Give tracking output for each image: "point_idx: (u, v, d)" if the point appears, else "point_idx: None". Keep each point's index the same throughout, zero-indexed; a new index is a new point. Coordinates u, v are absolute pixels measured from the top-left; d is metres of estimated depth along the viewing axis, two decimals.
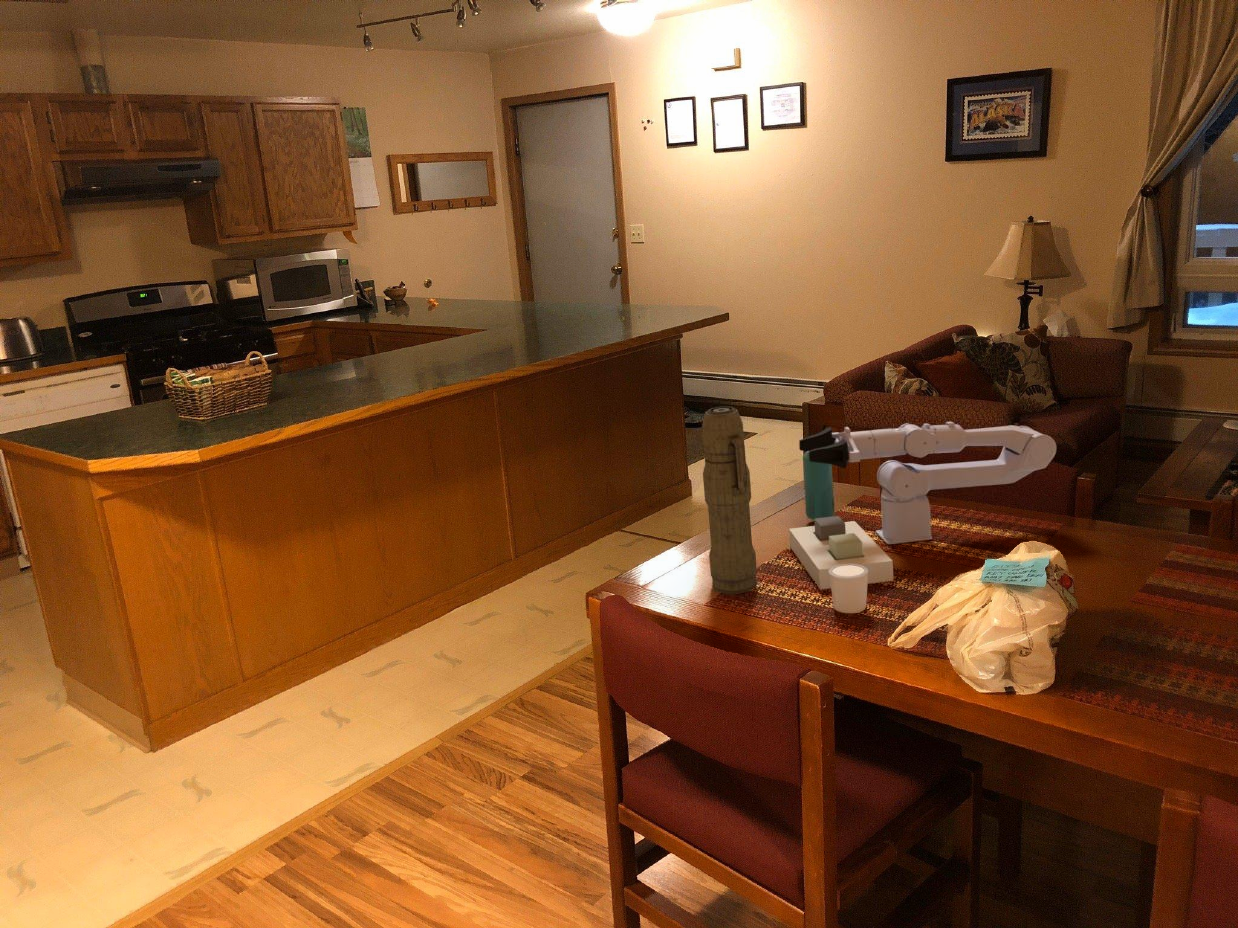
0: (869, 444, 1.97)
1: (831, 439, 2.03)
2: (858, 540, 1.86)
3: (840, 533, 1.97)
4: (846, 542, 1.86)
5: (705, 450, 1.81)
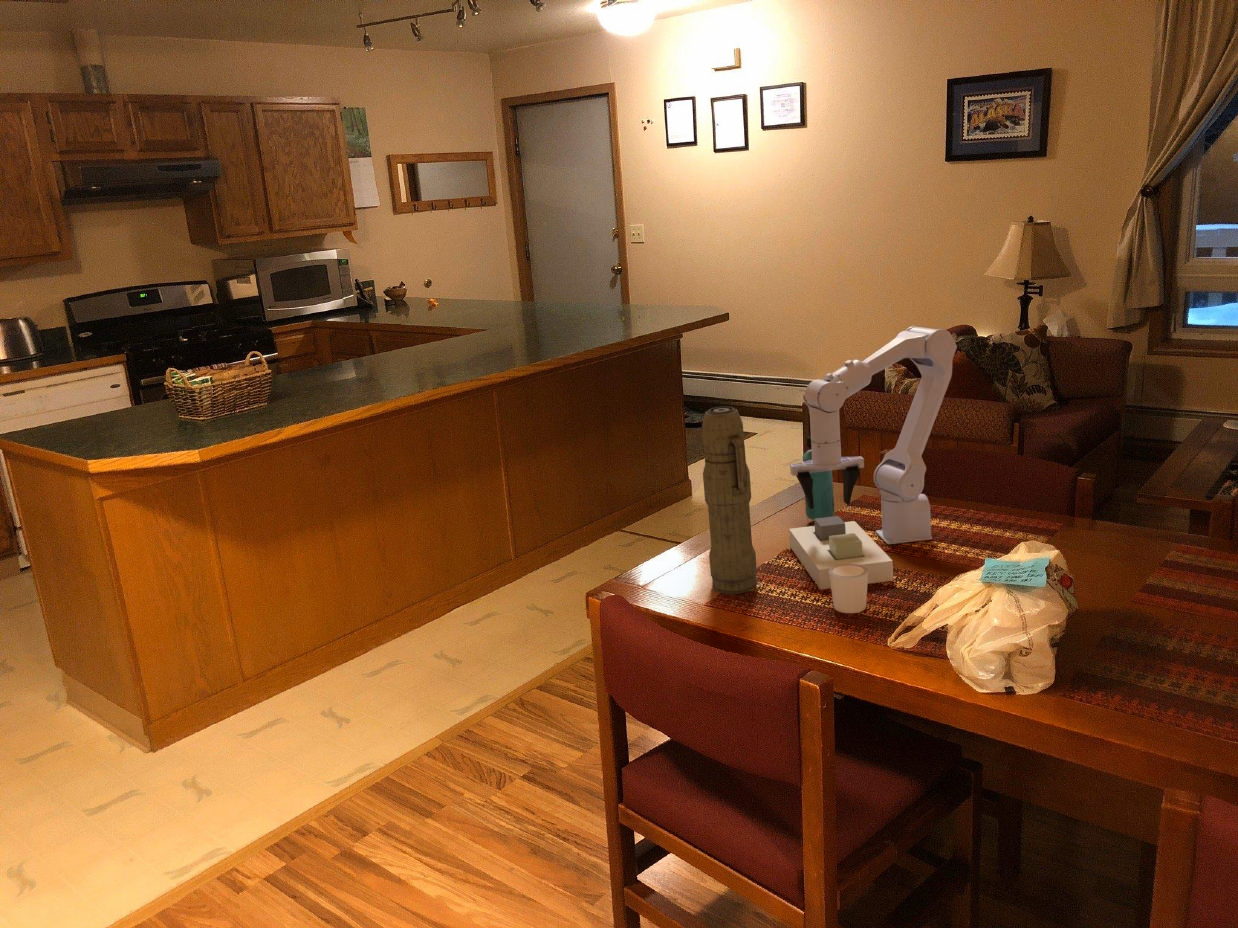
0: (840, 444, 1.94)
1: None
2: (858, 540, 1.86)
3: (840, 533, 1.97)
4: (846, 542, 1.86)
5: (705, 450, 1.81)
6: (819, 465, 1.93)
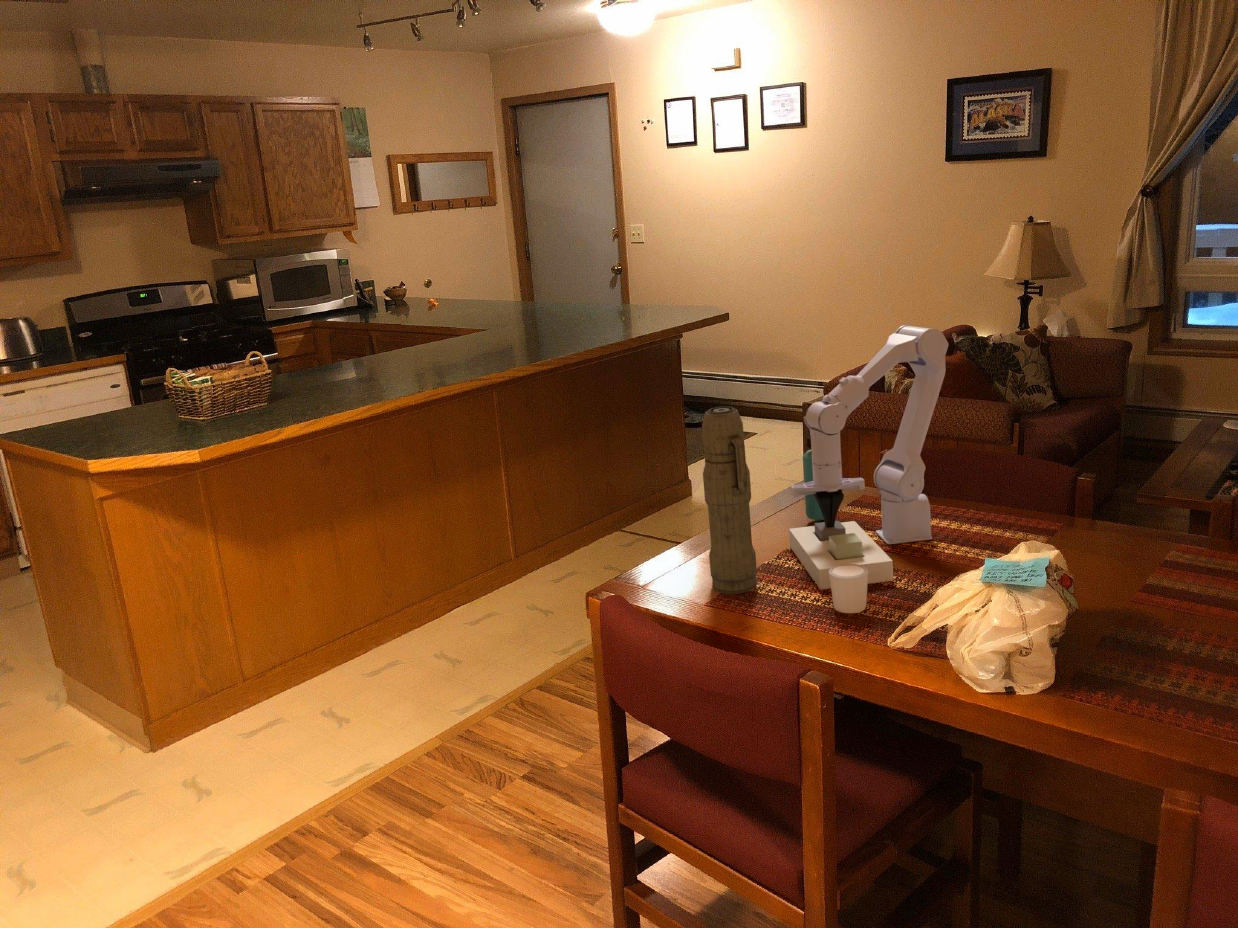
0: None
1: None
2: (858, 540, 1.86)
3: None
4: (846, 542, 1.86)
5: (705, 450, 1.81)
6: (820, 487, 1.94)
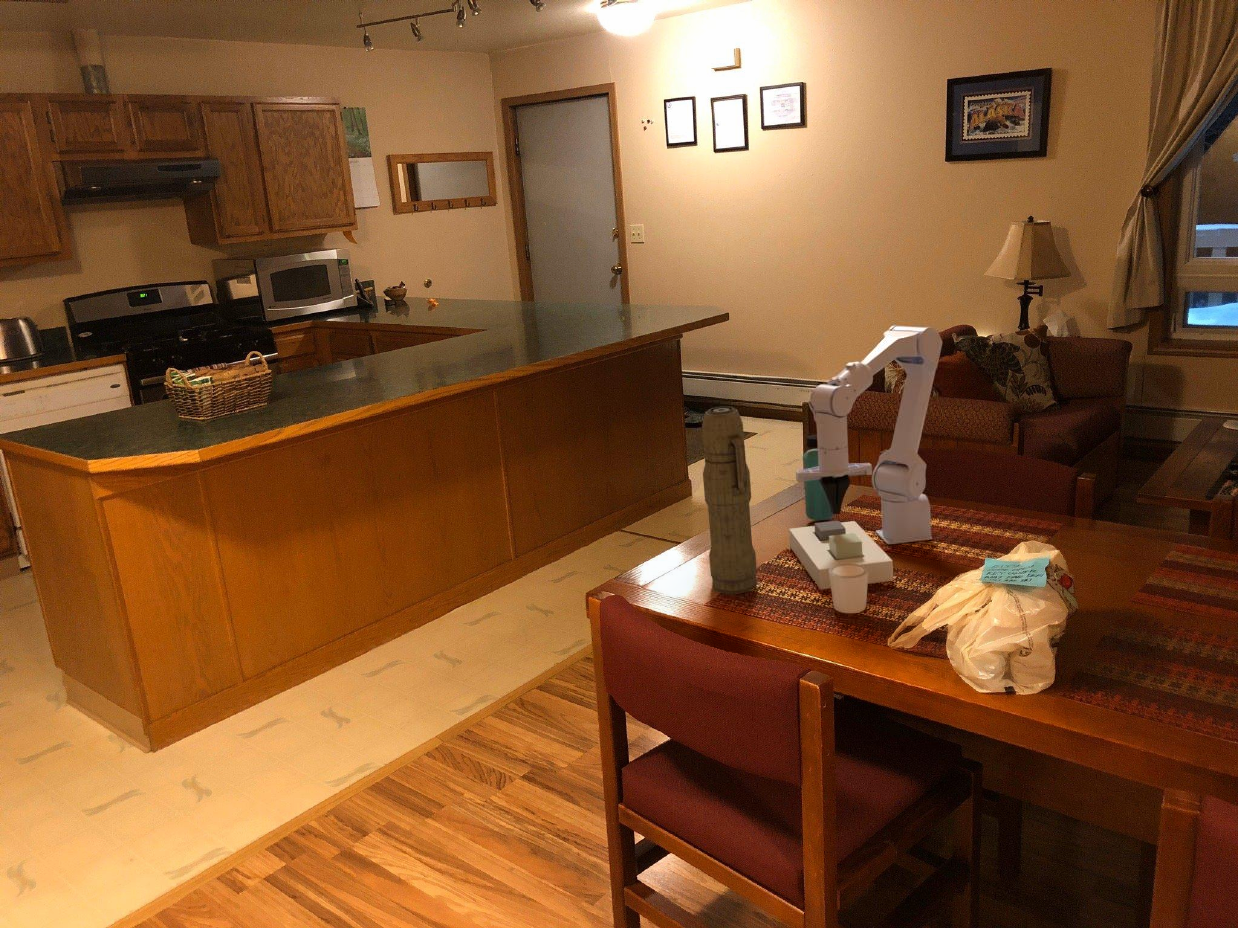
0: (847, 451, 1.89)
1: None
2: (858, 540, 1.86)
3: None
4: (846, 542, 1.86)
5: (705, 450, 1.81)
6: (826, 472, 1.88)
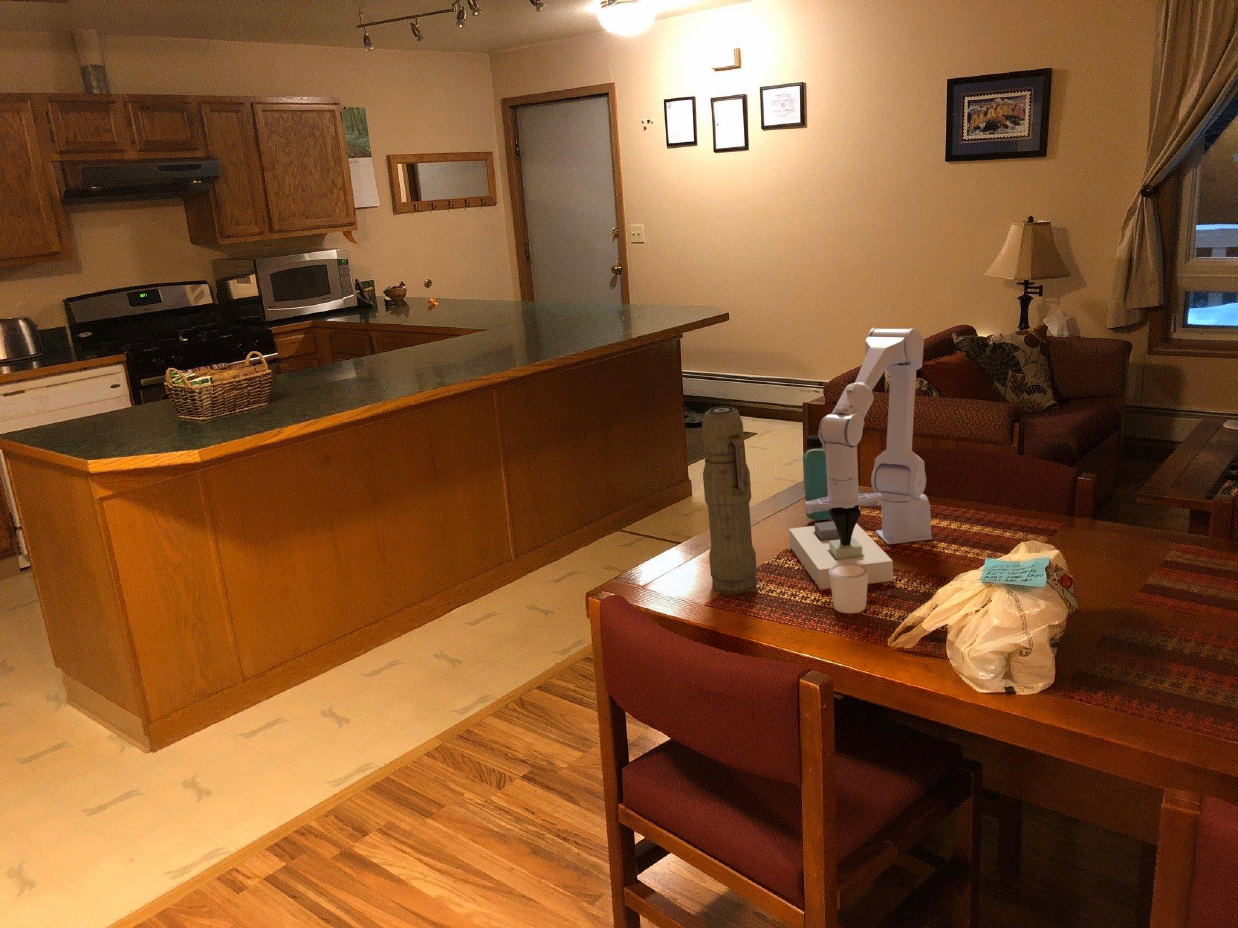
0: (857, 481, 1.84)
1: None
2: (858, 545, 1.87)
3: None
4: (846, 547, 1.86)
5: (705, 450, 1.81)
6: (835, 503, 1.84)
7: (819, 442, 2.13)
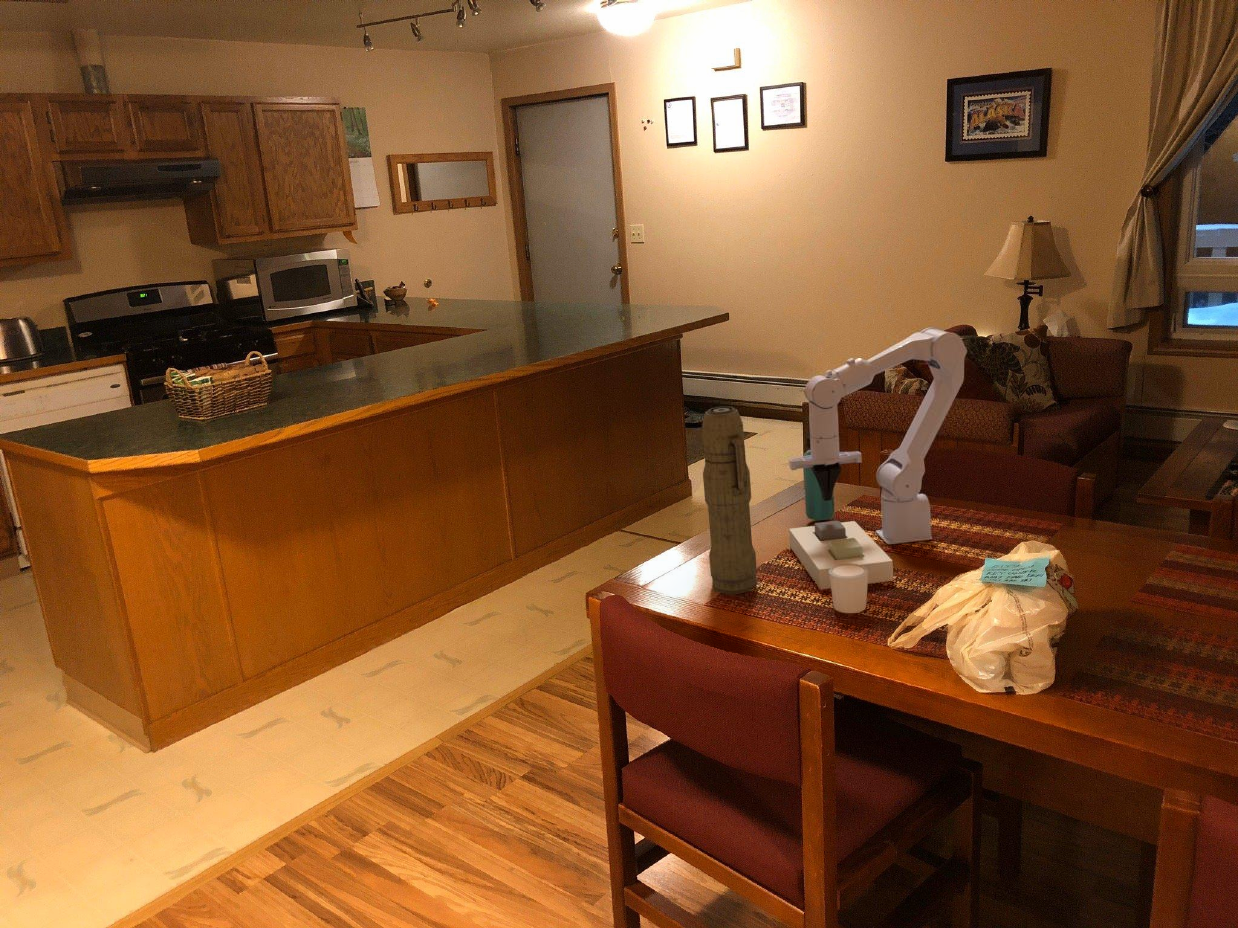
0: (838, 440, 1.98)
1: None
2: (858, 545, 1.87)
3: (840, 538, 1.97)
4: (846, 547, 1.86)
5: (705, 450, 1.81)
6: (818, 460, 1.97)
7: None
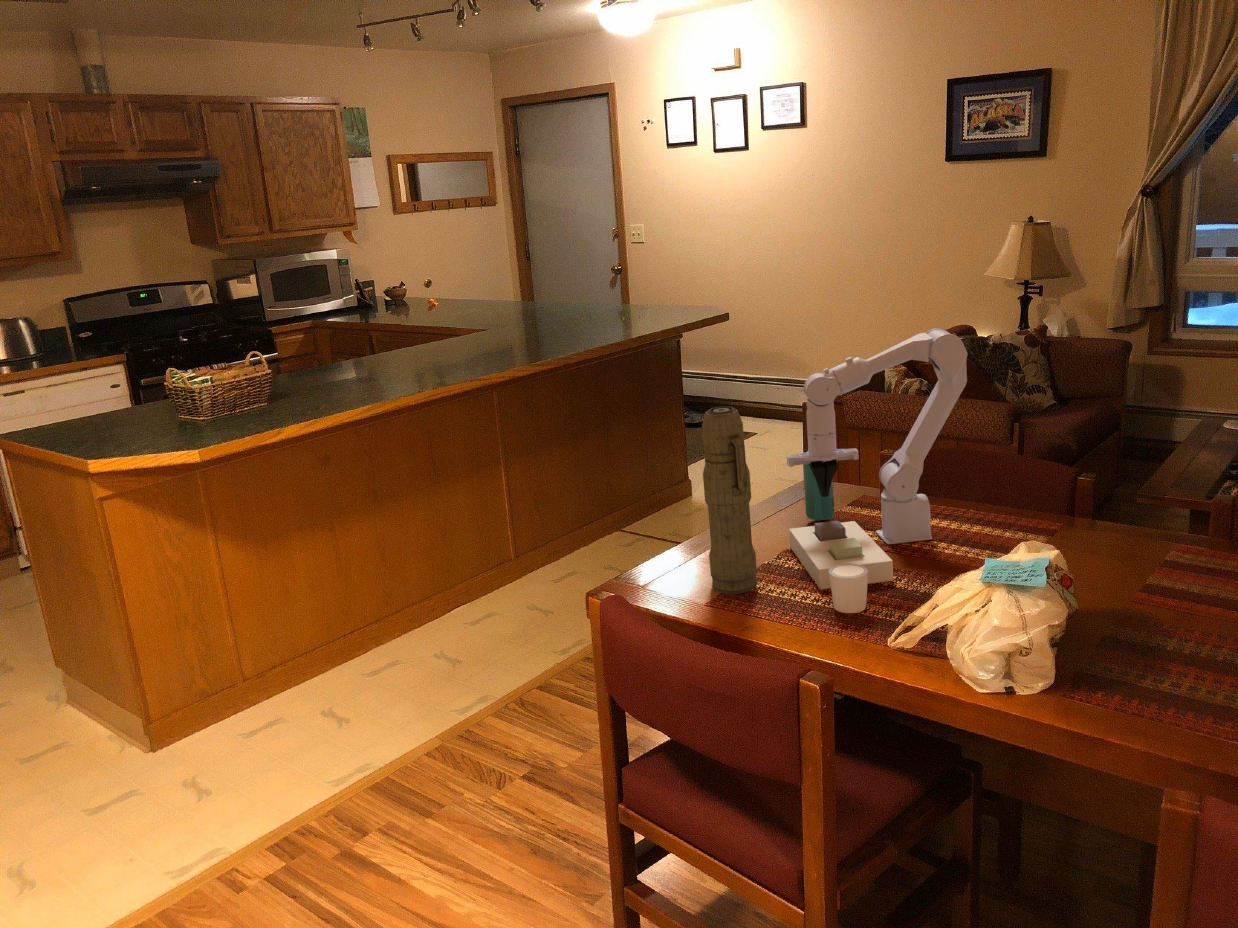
0: (835, 437, 2.00)
1: None
2: (858, 545, 1.87)
3: (840, 538, 1.97)
4: (846, 547, 1.86)
5: (705, 450, 1.81)
6: (815, 456, 1.99)
7: None
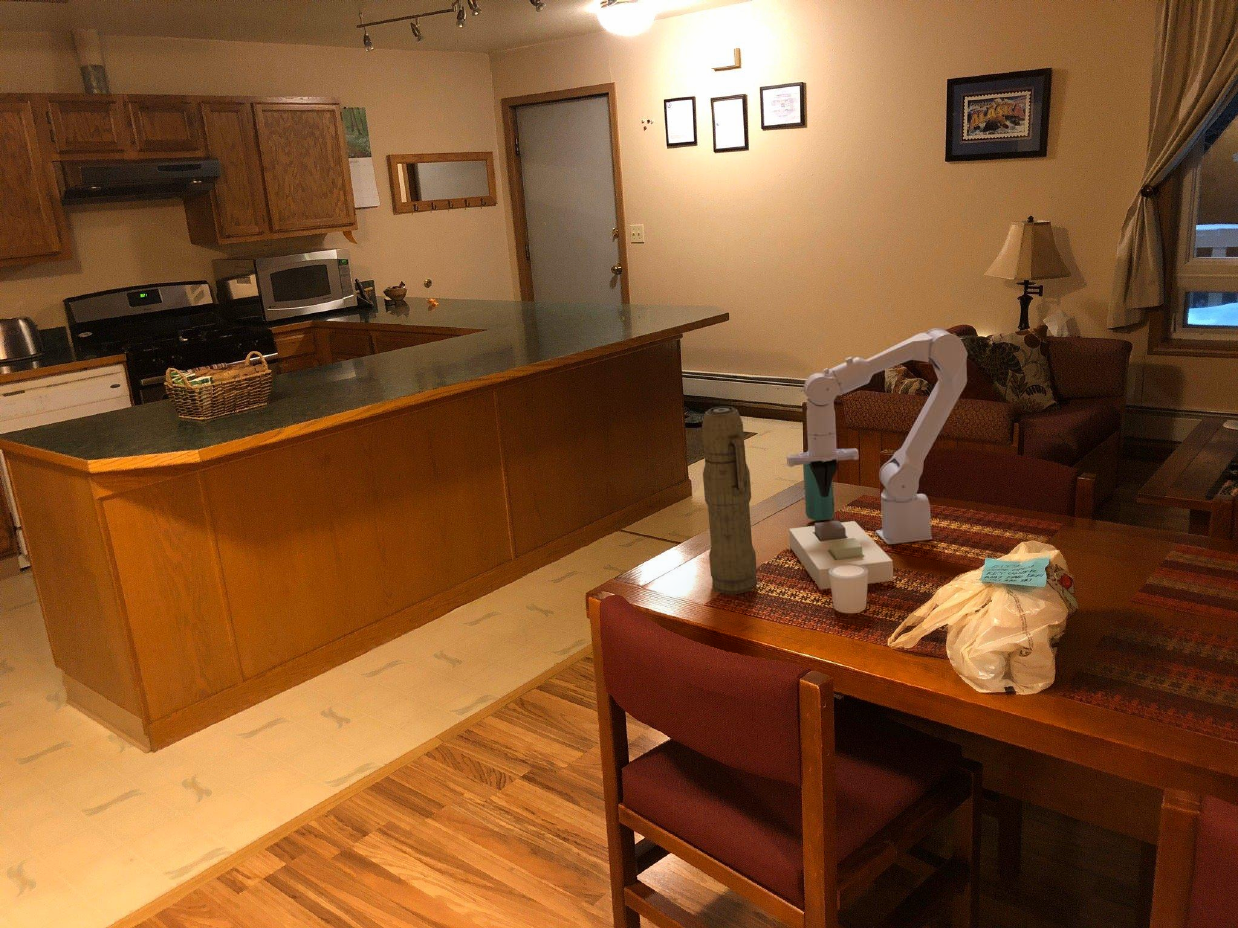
0: (835, 437, 2.00)
1: None
2: (858, 545, 1.87)
3: (840, 538, 1.97)
4: (846, 547, 1.86)
5: (705, 450, 1.81)
6: (815, 456, 1.99)
7: None
